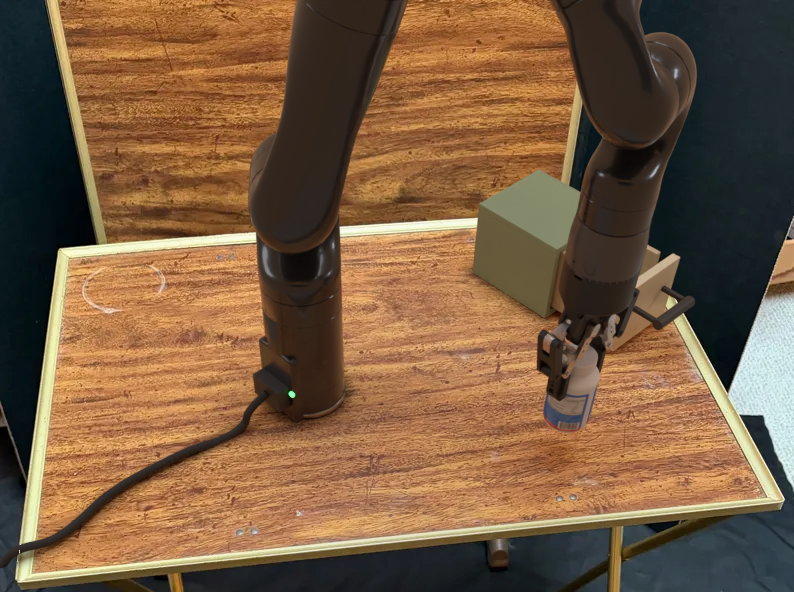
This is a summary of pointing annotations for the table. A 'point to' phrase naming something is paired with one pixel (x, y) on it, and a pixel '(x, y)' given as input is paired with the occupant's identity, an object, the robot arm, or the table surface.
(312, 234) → the robot arm
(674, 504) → the table surface
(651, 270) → the drawer
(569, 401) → the pill bottle
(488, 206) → the cabinet
